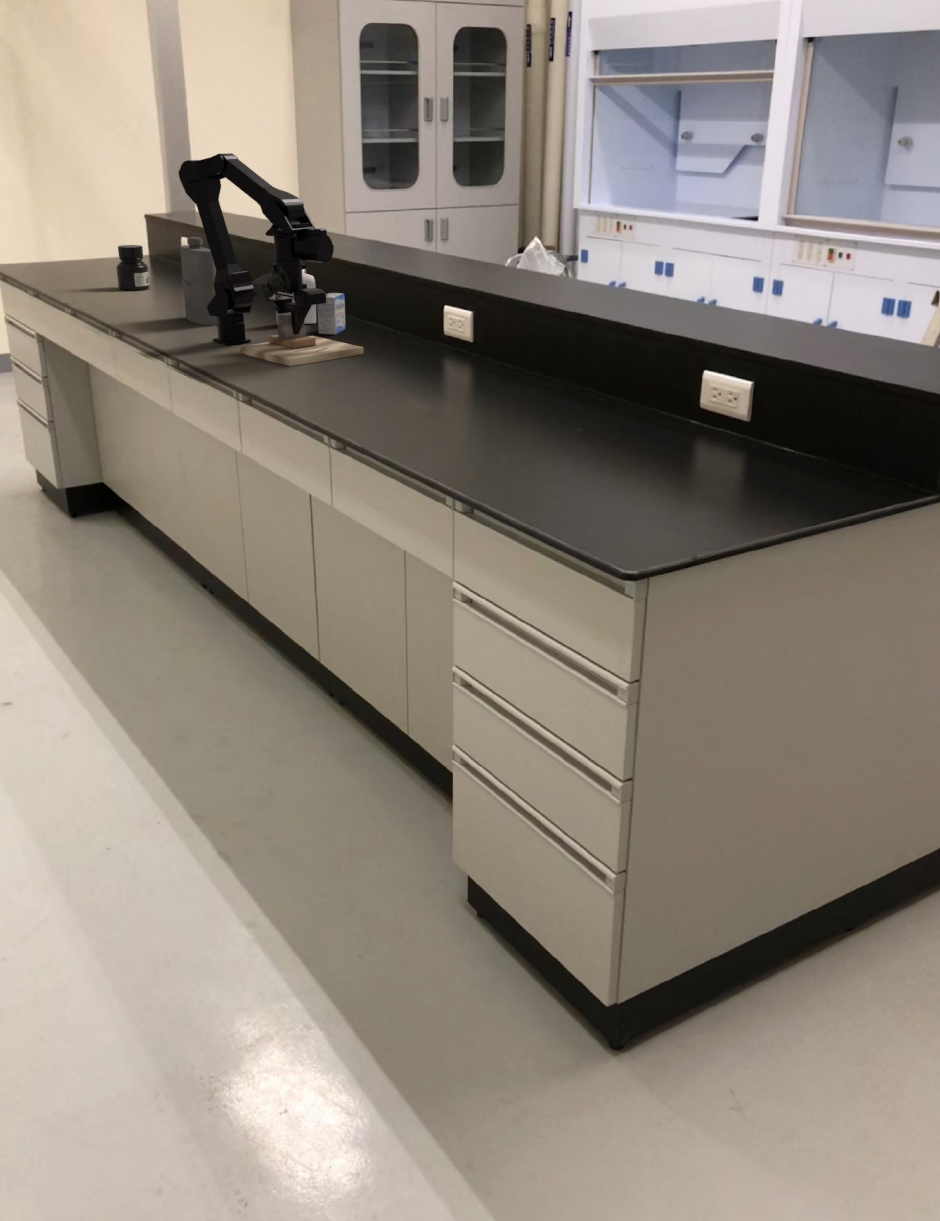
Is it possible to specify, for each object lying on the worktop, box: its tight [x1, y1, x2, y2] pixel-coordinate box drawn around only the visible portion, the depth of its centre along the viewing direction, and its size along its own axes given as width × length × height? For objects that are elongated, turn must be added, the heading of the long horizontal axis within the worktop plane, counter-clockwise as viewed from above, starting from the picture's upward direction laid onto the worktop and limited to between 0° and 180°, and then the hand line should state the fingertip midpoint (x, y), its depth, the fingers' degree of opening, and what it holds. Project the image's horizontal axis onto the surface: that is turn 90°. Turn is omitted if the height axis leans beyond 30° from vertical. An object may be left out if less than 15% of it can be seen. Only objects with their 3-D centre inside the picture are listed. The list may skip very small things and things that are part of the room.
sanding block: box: [268, 312, 316, 348], centre depth 244 cm, size 9×6×6 cm, turn 45°
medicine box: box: [316, 292, 346, 336], centre depth 267 cm, size 8×4×9 cm, turn 168°
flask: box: [179, 236, 217, 327], centre depth 275 cm, size 15×6×20 cm, turn 32°
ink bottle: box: [115, 244, 151, 291], centre depth 324 cm, size 10×9×12 cm
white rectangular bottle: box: [275, 272, 317, 325], centre depth 275 cm, size 10×4×12 cm, turn 123°
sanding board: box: [239, 335, 365, 367], centre depth 243 cm, size 18×20×2 cm
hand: (291, 333), depth 244 cm, fingers closed on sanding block, 3 cm apart
